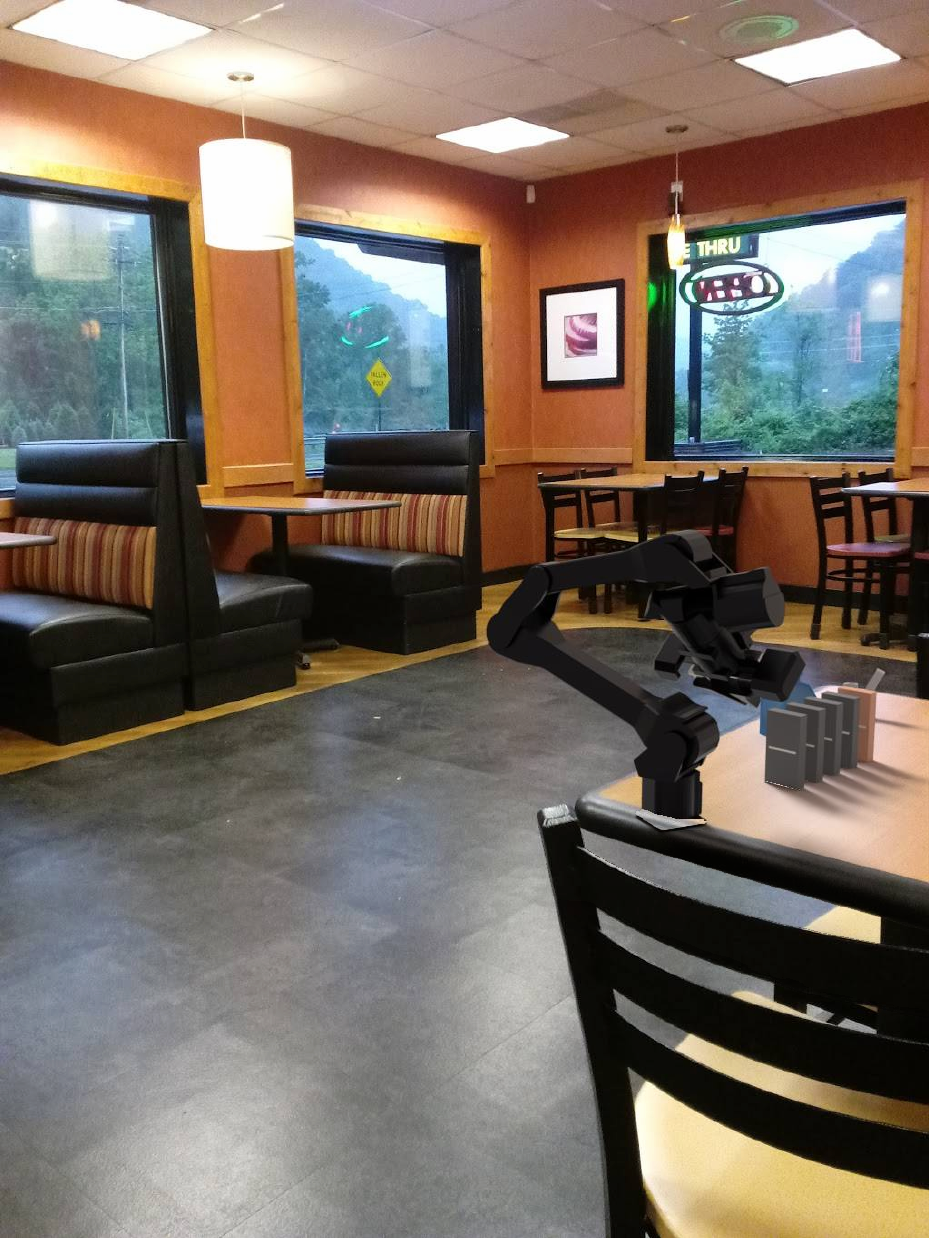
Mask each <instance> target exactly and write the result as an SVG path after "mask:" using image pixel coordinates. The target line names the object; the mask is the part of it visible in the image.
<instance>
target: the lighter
mask: <svg viewBox="0 0 929 1238" xmlns="http://www.w3.org/2000/svg"><path fill="white" fill-rule="evenodd" d="M885 673H886V672H885V671H884V670H882V669H880V668H876V670H875V672H874V674H873V675H872V677H871V678H870V680H869V682H868V683H867V685H866V686H865V688H863V689H864V690H869V691H876V689H877V686H878V685H879V683H880V682H881V680H882V679H883V677H884V675H885ZM842 686H847V687H853V688H858V689H861V688H859V683H858V682H848V681H847V682H844V683H842ZM839 687H840V686H838V688H839ZM838 688H837V689H838ZM836 693H838V691H836Z"/></svg>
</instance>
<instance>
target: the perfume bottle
mask: <svg viewBox="0 0 929 1238" xmlns="http://www.w3.org/2000/svg"><path fill="white" fill-rule="evenodd" d="M803 672H804V670H803V671H802V673H801V675H800V677H799V679H798V681H797V683H796V685H795V686H794V688H793V690H792V692H791V694H790V696H789V698H788V700H786V701H784V702H776V701H771V700H767V699H762V698H760V699H761V702H760V709H759V710H760V712H759V714H760V715H759V734H760V735H762V736H764V737H766V725H767V710H768V709H771V708H778V709H783V710H786V704H787V703H791V702H795V703H800V704H804V698H807V697H810V696H811V697H816V698H818V696H817V695H816V693H815V692H814V690H813V688H812V686H811V685H810V683H807V682H806V681H805V682H804V681H802V680H801V677H803Z"/></svg>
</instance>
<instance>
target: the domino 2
mask: <svg viewBox="0 0 929 1238" xmlns="http://www.w3.org/2000/svg"><path fill="white" fill-rule="evenodd" d="M786 710H788V711H792V712H797V713H802V714H807V735H806V758H805V780H808V781H807V782H809V781H811V782H810V783H813V782H814V783H813V784H818V783H820V782H822V781H823V777H824V773H823V758H824V736H825V714H826V708H821V707H815V706H810V705H805V704H800V703H795V702H791V703H787V704H786Z"/></svg>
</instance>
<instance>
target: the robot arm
mask: <svg viewBox="0 0 929 1238" xmlns="http://www.w3.org/2000/svg"><path fill="white" fill-rule="evenodd" d="M626 581H630V582H631V581H633V582H635V581H636V582H641V583H650V584H651V583H653V584H655V583H656V584H677V583H679V584H681V585H680V586H673V587H671V588H668V589H667V588H666V589H663V590H662V589H656V588H653V589H652V590H651V593H650V595H649V597H648V601H647V605H646V609H645V612H644V615H643V618H644V620H646V621H652V620H659V619H664V620H665V622H666V623H667V625H668V626H669V627H670V629H671V632H669V634H668V635H667V637H666V639H665V640H664V641H663V644H662V645H661V647H660V648H659V650H658V652H657V654H656V655H655V657H654V659H653V670H654V671H655V673H656V674H657V675H658V677H659V678H660V679H663V680H669V681H673V682H678V681H679V679H680V678H681V676H682V674H681V673H680V671H679V669H680V668H681V667H682V664H683V663H685V664H691V665H690V668H689V669H688V670H687V673H688V675H689V676H690V675H691V676H692V677H694V679H693V681H692V685H693V686H694V687H695V688H698V689H701V690H704V691H705V692H706V691H707V692H709V693H712V694H715V695H717V696H720V697H722V698H725V699H727V700H729V701H732V702H734V703H737V704H740V705H742V706H747V705H748V706H750V707H753V708H756V709H758V707H759V706H760V705H761V698H762V699H767V700H771V701H776V702H784V701H786V700H788V698H789V696H790V694H791V692H792V690H793V688H794V686H795V685H796V683H797V681H798V679H799V677H800V675H801V673H802V671H803V672H804V669H805V667H806V665H807V664H806V661H805V660H804V658H803V657H802V655H801V653H800V651H799V650H795V649H789V648H783V647H776V646H771V647H767V648H766V649H765V651H764V653H763V651H762V650H761V651H760V650H755V649H751V647H752V646H753V643H754V642H755V641H754V640H753V638H752V637H751V636H752V635H753V634H754V633H755V632H756V631H758V630H767V629H772V628H773V629H774V628H780V627H781V626H782V625H783V623H784V620H785V617H786V615H785V614H786V604H785V602H786V601H785V598H784V593H783V592H781V588H780V586H779V584H778V582H777V581H776V579H775V578H774V577H773V575H772V571H771V567H770V566H764V567H758V568H755V569H751V570H749V571H743V572H738V573H735V572H734V571H733V570H732V569H731V568H730V567H729V566H728V565H727V564H726V563H725V562H724V561H723V560H722V559H721V558H720V557H719V556H718V555H717V554H716V553H715V552H714V551H713V549H712V546H711V543H710V541H709V540H708V539H707V537H706V536H705V535H704V534H702V533H701V531H700V530H695V529H684V530H678V531H673V532H668V533H667V532H666V533H664V534H663V533H662V534H661V535H658V536H656V537H653V538H650V539H647V540H644V541H643V542H640V543H638V544H636V545H634V546H632V547H631V546H630V548H627V549H624V550H620V551H614V552H609V553H604V554H603V553H602V554H598V555H592V556H587V557H581V558H576V559H569V560H564V561H549V562H547V561H546V562H542V563H539V564H535V565H532V566H531V568H530V569H529V570H528V571H527V572H526V573H525V575H524V578H523V579H522V580H521V582H520V583H519V584H518V586H517V587H516V588H515V590H514V591H513V592H511V594H510V595H509V596H508V597H507V598H506V599H505V600H504V602H503V603H502V605H500V607H499V610H498V611H497V613H494V614H493V615H492V616H491V617H490V618H489V620H488V622H487V626H486V628H485V629H486V630H485V631H486V634H485V635H486V639H487V645H488V647H489V648H490V650H492V652H493V653H495V654H497V655H498V656H500V657H503V658H505V659H508V660H510V661H512V662H515V663H518V664H521V665H526V666H530V667H531V666H532V667H536V668H540V669H542V670H544V671H546V672H547V673H549V674H550V675H551V676H553V677H555V678H556V679H558V680H560V681H561V682H563V683H565V684H566V685H567V686H569V687H570V688H572V689H574V690H575V691H577V693H580V694H581V695H582V696H584V697H585V698H587V699H589V700H590V701H593V702H594V703H595V704H597V705H598V706H600V707H602V708H603V709H604V710H606V711H607V712H609V713H610V714H612V715H613V716H615V717H617V718H618V719H620V720H622V721H623V722H624V723H626V724H627V725H629V726H630V727H632V728H633V729H634V731H635V733H636V735H637V736H638V738H639V739H640V741H641V742H642V744H643V746H644V748H646V749H645V750H643V751H642V752H641V753H640V754H639V755H637V756H636V757H635V758H634V760H633V764H634V767H635V770H636V773H637V776H638V777H639V778H641V809H644V810H648V811H650V812H652V813H654V814H657V815H663V816H667V817H672V818H675V819H704V821H707V819H706V818H704V817H703V816H701V815H702V813H703V789H704V788H703V787H704V785H703V781H702V780H701V770H698V769H697V768H699V767H702V766H703V765H704V763H705V761H706V759H707V756H709V755H711V754H712V753H714V752H715V750H716V749H717V748H718V746H719V744H720V737H721V736H720V735H721V734H720V733H721V732H720V729H719V726H718V721H717V720H716V718H715V717H713V715H711V714H710V713H708V712H707V711H708V709H709V707H708V706H706V705H701V704H699V703H697V702H695V701H694V700H692V699H691V698H690V697H689V696H688V695H686V694H685V693H683V692H682V691H677V692H675V693H672V694H671V695H668V696H666V697H664V698H663V697H660V696H657V695H655V694H653V693H651V692H649V691H648V690H646V689H645V688H644V687H642V686H640V685H638V684H636V683H635V682H634V681H632V680H630V679H629V678H627V677H626V676H625V675H622V674H621V673H619V672H618V671H616V670H614V669H613V668H611V667H610V666H608V665H606V664H604V663H603V662H601V661H600V660H599V659H598V658H595V657H593V656H592V655H591V654H589V653H587V652H585V651H584V650H583V649H581V648H580V647H578V646H576V645H575V644H573V643H571V642H570V641H568V640H567V639H566V638H565V637H564V635H563V633H562V631H561V630H560V628H559V626H558V625H557V623H556V622H555V621H554V620H553V619H554V617H555V615H556V614H557V612H558V609H559V605H560V599H561V596H562V594H563V592H565V591H569V590H576V589H581V588H582V589H583V588H588V587H594V586H602V585H607V584H614V583H619V582H626ZM800 678H801V677H800Z"/></svg>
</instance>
